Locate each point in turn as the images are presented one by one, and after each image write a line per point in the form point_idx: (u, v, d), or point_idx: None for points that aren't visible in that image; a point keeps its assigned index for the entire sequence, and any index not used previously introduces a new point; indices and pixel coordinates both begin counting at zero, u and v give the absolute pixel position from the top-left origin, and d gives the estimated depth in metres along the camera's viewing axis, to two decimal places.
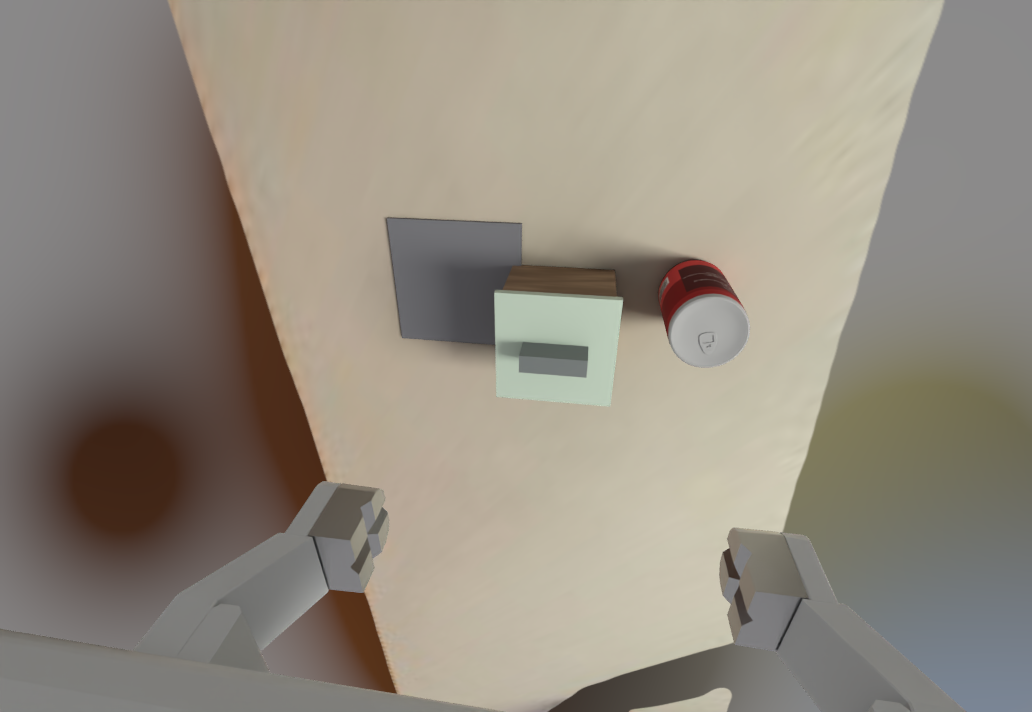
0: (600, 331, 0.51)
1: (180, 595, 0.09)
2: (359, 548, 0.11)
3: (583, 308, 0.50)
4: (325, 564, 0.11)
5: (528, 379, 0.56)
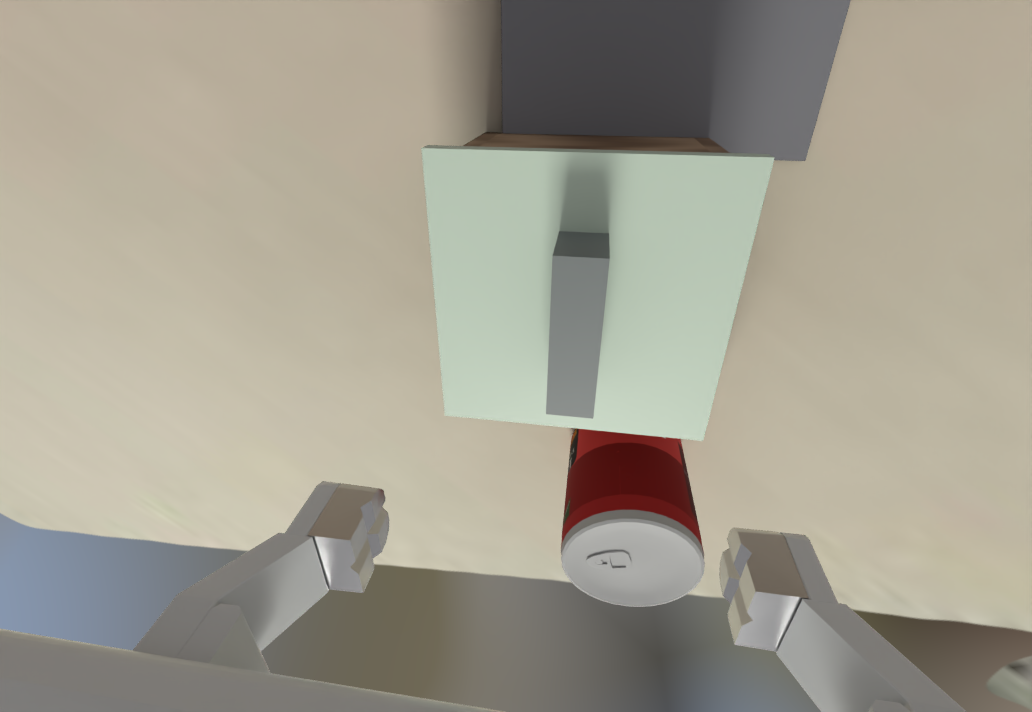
0: (631, 403, 0.24)
1: (180, 595, 0.09)
2: (359, 548, 0.11)
3: (693, 372, 0.22)
4: (325, 564, 0.11)
5: (492, 244, 0.21)
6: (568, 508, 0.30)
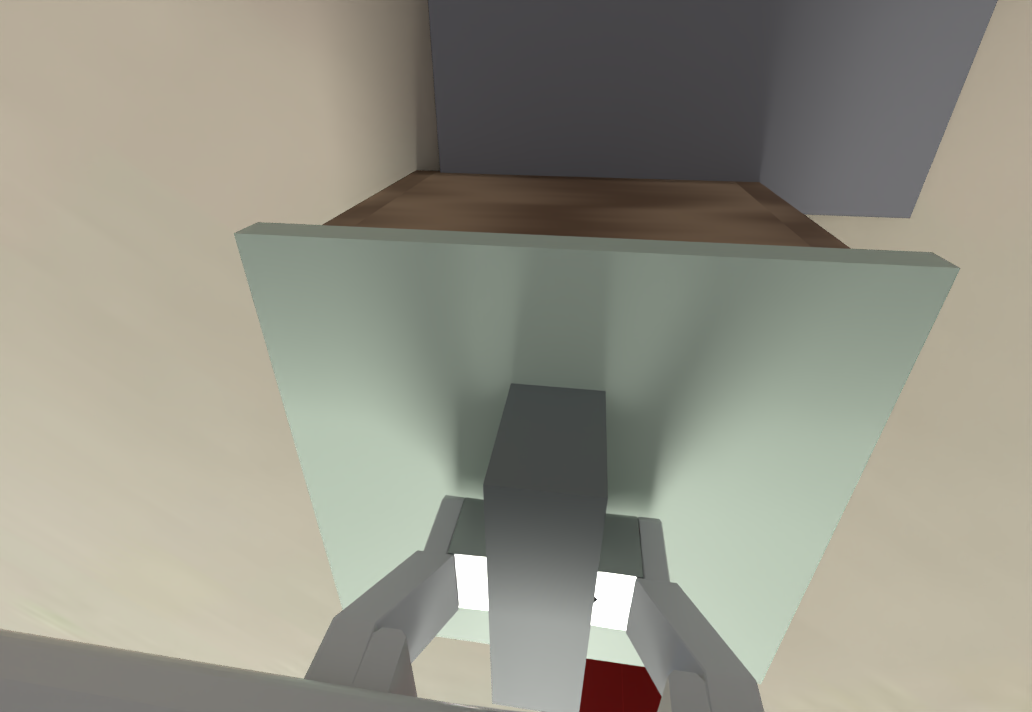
0: None
1: (337, 618, 0.09)
2: None
3: (752, 600, 0.13)
4: (461, 582, 0.10)
5: (391, 399, 0.11)
6: None
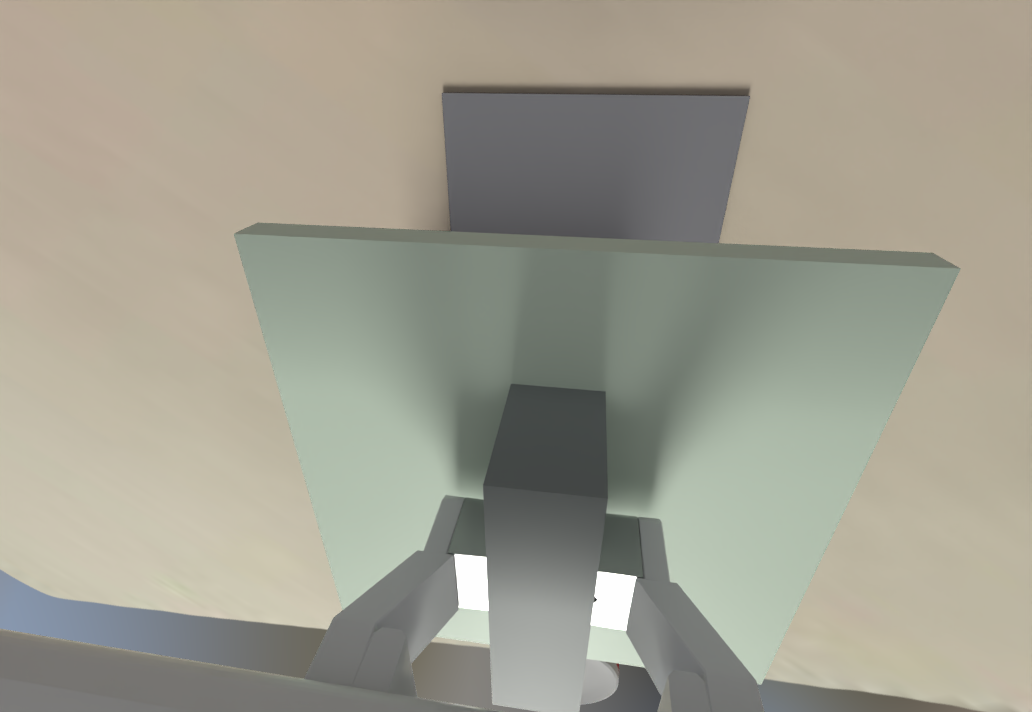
0: None
1: (337, 618, 0.09)
2: None
3: (752, 600, 0.13)
4: (461, 582, 0.10)
5: (390, 399, 0.11)
6: None
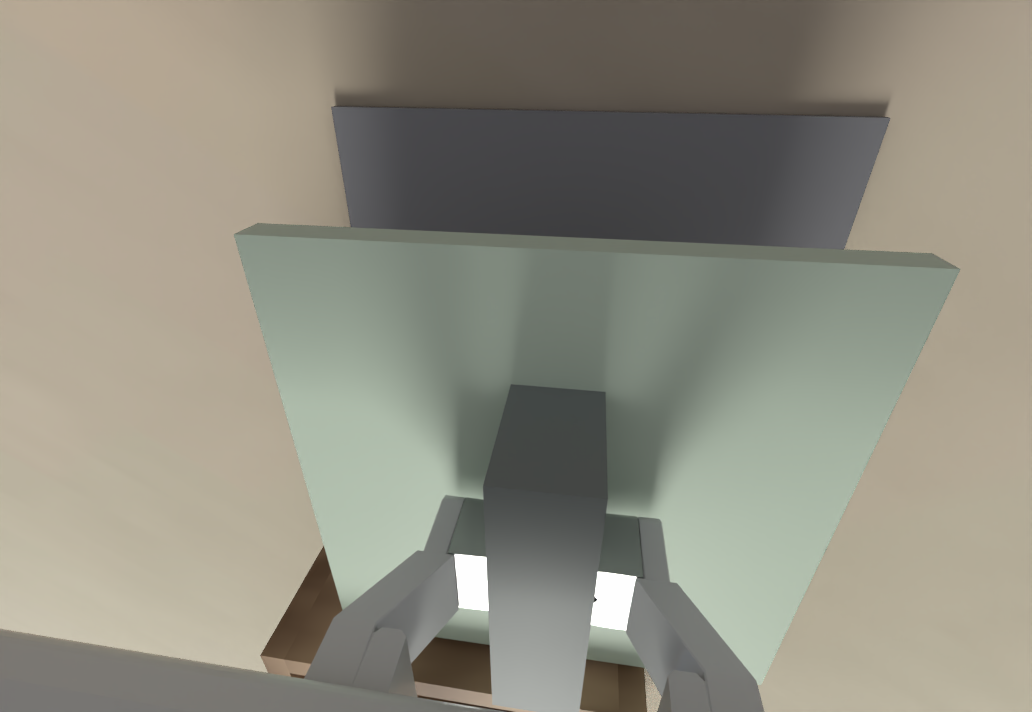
0: None
1: (337, 618, 0.09)
2: None
3: (752, 601, 0.13)
4: (461, 582, 0.10)
5: (391, 399, 0.11)
6: None
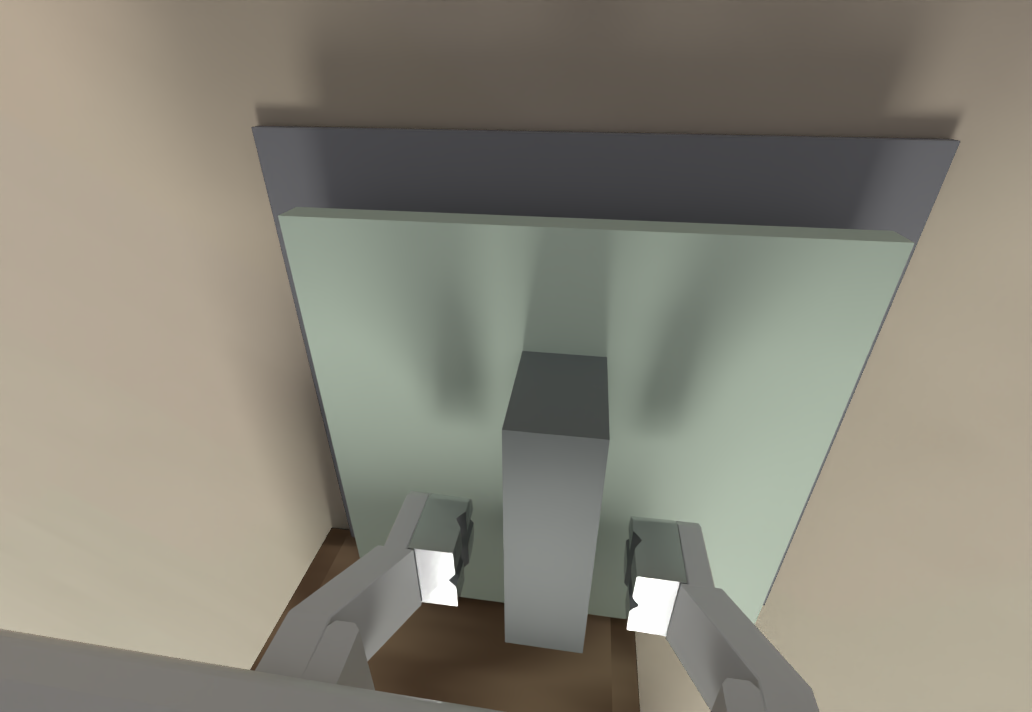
0: None
1: (292, 611, 0.09)
2: (457, 561, 0.10)
3: (740, 553, 0.14)
4: (422, 577, 0.10)
5: (414, 367, 0.13)
6: None
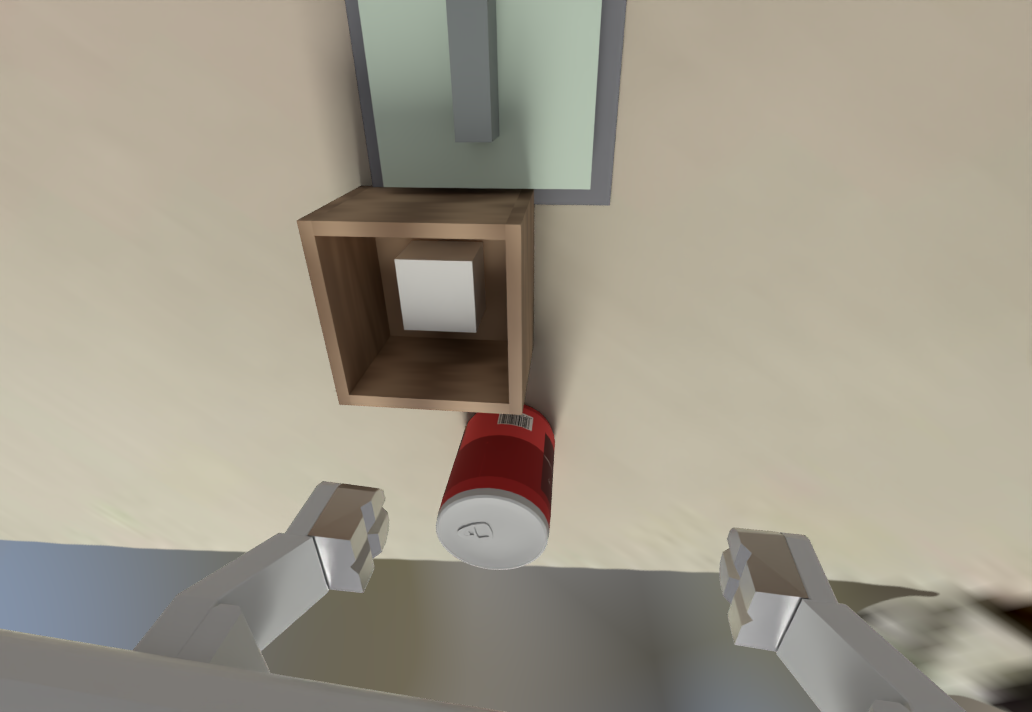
0: (530, 156, 0.30)
1: (180, 595, 0.09)
2: (359, 548, 0.11)
3: (574, 120, 0.28)
4: (325, 564, 0.11)
5: (408, 7, 0.27)
6: (445, 491, 0.36)
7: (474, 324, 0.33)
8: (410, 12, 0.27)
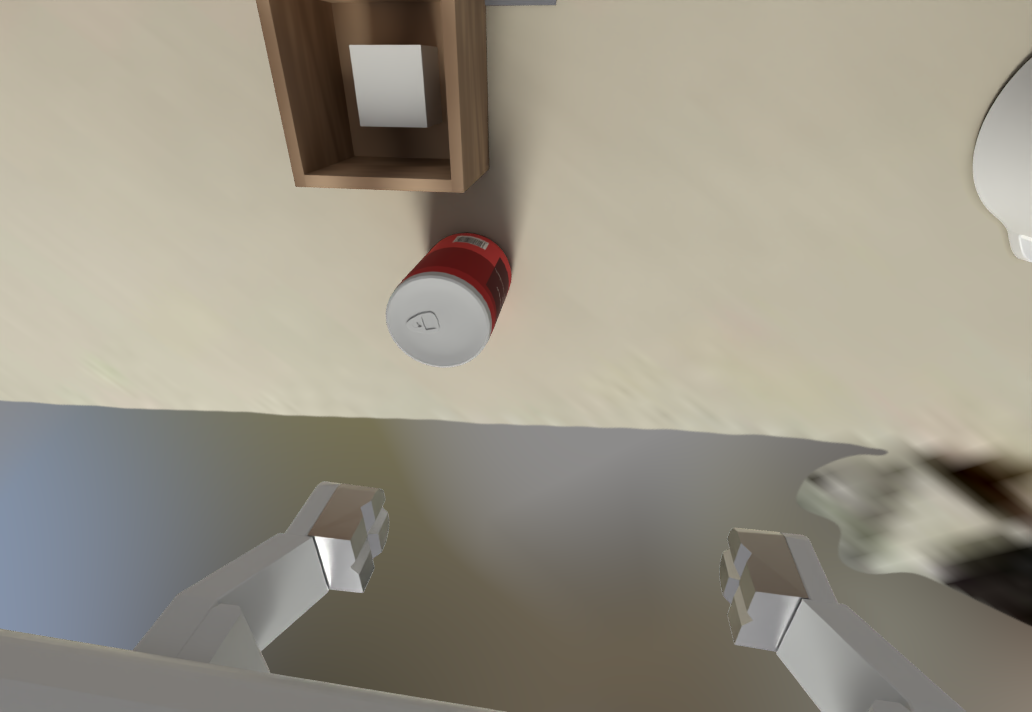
0: None
1: (180, 595, 0.09)
2: (359, 548, 0.11)
3: None
4: (325, 564, 0.11)
5: None
6: None
7: (425, 118, 0.35)
8: None
